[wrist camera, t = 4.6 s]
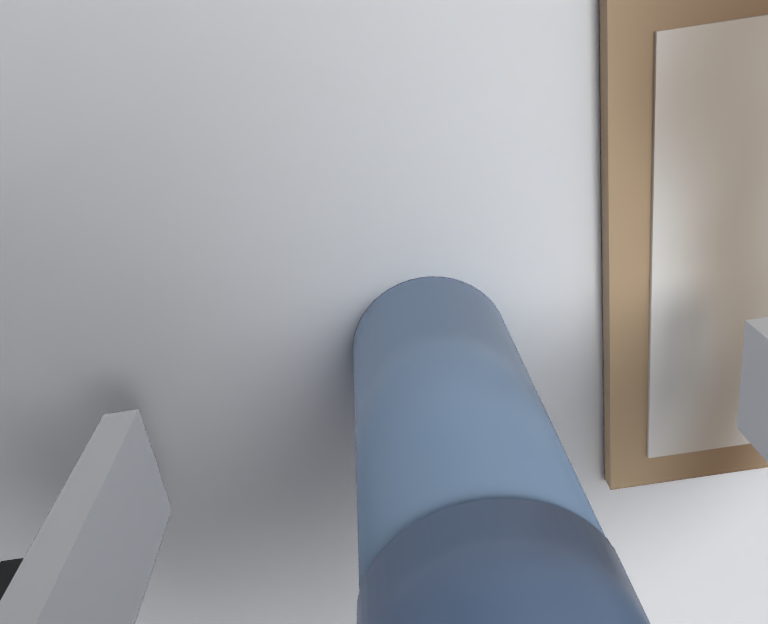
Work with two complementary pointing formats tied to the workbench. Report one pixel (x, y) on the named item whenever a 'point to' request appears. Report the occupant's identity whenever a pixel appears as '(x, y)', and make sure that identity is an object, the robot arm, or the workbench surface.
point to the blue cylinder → (467, 476)
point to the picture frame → (681, 231)
